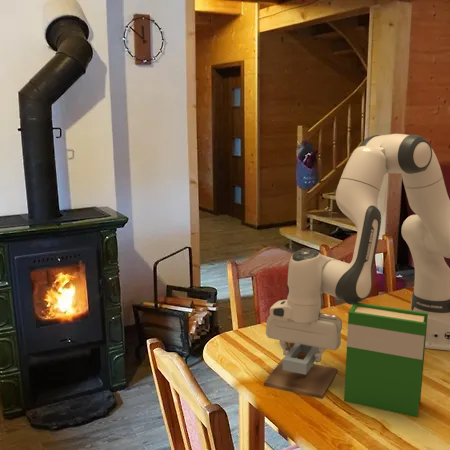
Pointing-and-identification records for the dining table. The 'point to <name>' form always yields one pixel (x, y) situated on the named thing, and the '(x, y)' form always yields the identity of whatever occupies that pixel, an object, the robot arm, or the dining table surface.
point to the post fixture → (302, 379)
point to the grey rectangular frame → (298, 364)
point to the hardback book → (385, 358)
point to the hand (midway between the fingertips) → (302, 358)
